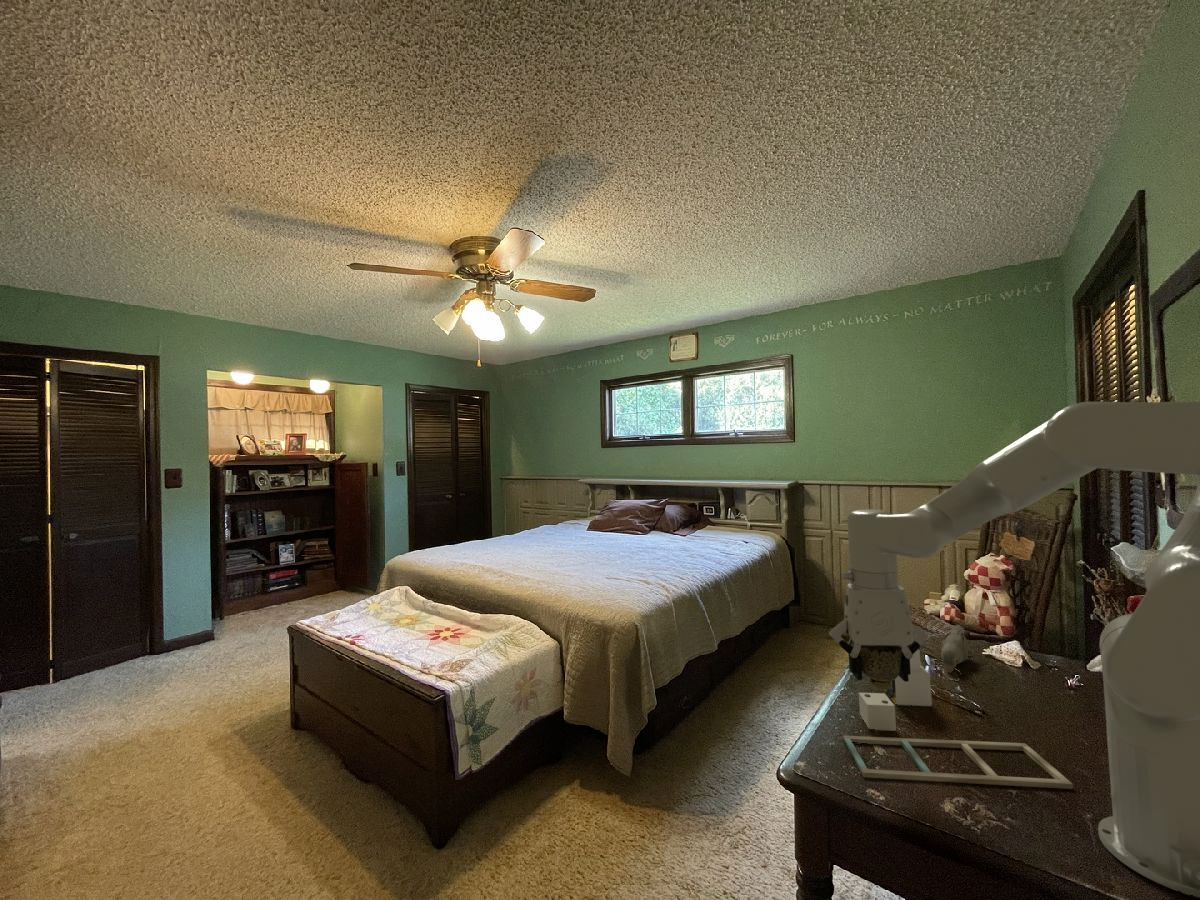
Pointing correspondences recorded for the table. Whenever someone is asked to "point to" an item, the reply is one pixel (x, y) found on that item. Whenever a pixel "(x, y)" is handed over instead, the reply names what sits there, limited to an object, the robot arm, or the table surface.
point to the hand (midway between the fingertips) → (879, 676)
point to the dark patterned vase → (881, 664)
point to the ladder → (967, 746)
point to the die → (877, 711)
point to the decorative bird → (954, 648)
